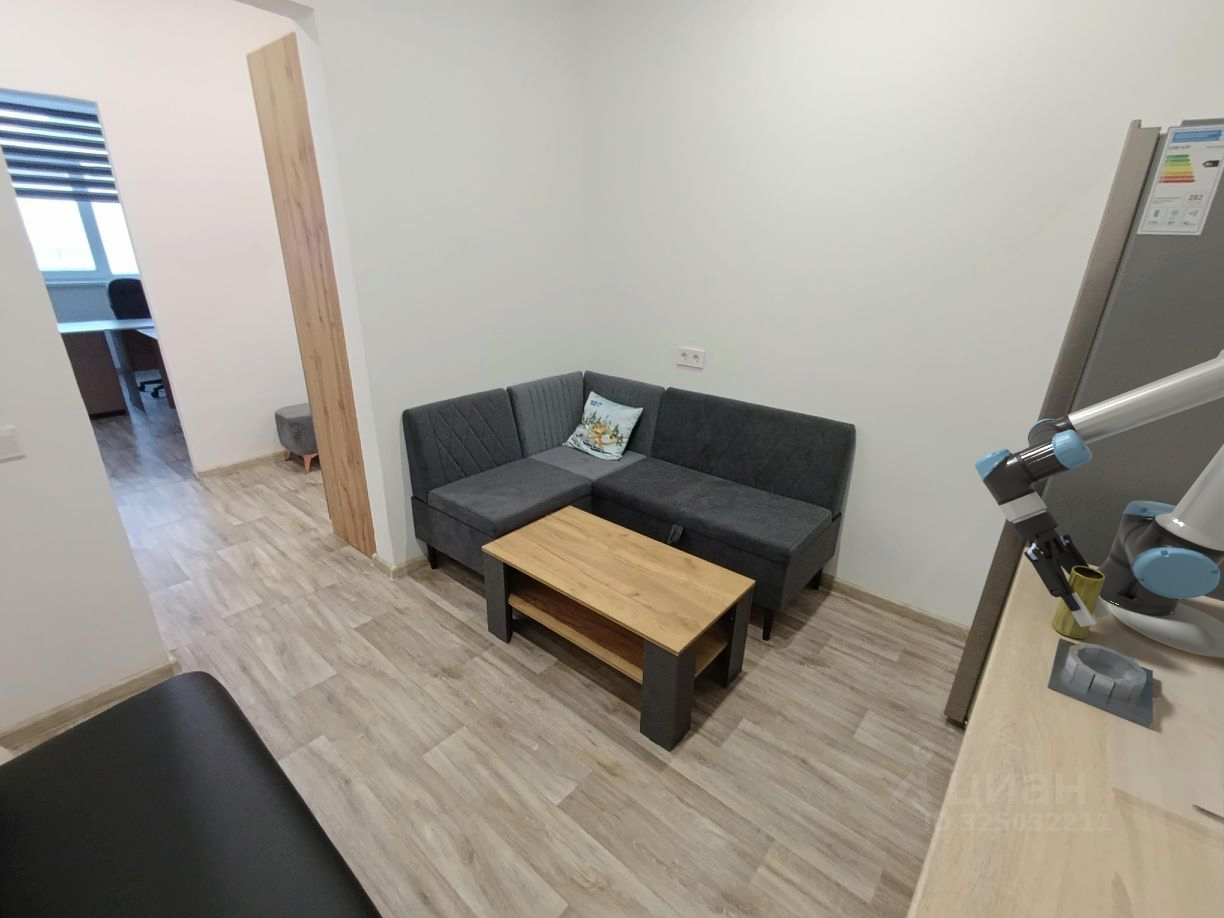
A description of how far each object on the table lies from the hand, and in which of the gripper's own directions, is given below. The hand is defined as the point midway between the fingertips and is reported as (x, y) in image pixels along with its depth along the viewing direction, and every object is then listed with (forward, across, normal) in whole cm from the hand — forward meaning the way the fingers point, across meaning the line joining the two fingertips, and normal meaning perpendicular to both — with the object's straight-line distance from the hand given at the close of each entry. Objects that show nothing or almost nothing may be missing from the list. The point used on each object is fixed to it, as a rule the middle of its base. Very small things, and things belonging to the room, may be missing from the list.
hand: (1096, 620), depth 111 cm
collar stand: (+8, +12, +1) cm, 15 cm away
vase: (+1, 0, -6) cm, 6 cm away
